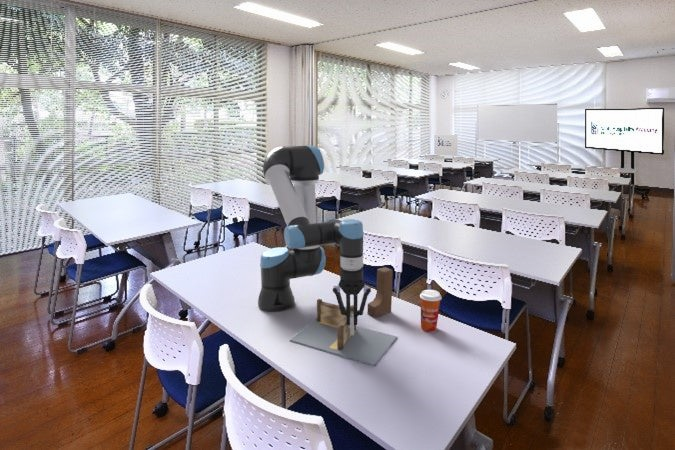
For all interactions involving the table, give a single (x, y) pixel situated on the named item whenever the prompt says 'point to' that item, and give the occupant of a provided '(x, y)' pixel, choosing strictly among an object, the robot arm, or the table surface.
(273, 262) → the robot arm
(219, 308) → the table surface
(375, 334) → the card
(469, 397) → the table surface
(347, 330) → the fence gate
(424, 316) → the paper cup
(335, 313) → the fence fixed
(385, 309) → the wooden block
